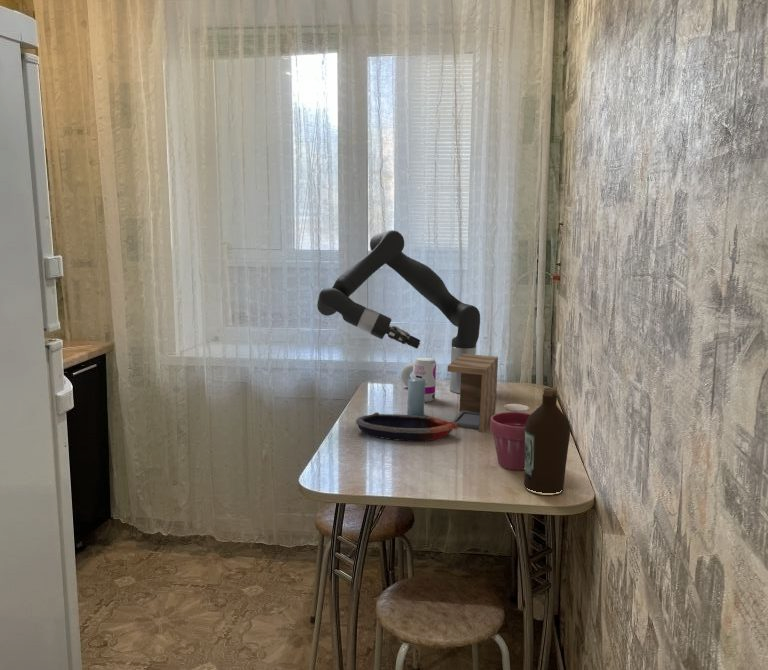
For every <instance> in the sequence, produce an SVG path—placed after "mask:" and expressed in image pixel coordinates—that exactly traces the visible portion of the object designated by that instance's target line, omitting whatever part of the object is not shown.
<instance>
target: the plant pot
mask: <svg viewBox="0 0 768 670" xmlns="http://www.w3.org/2000/svg"><path fill="white" fill-rule="evenodd" d="M531 414H532V413H527V412H512V411H505V412H497V413H495V415H493V416H492V417H491V420H490V423H489V425H490V426H489V428H490V429H489V430H490V433H491V434H492V435H493V438H494V439H493V440H494V441H493V442H494V446H495V447H494V448H495V452H496V457H497V462H498V465H499V466H500V467H501V466H502V467H501V468H504V467H505V468H504V469H506V468H509V469H508V470H511V469H524V468H525V425H526V422H527V419H528V417H529V416H530V415H531Z"/></svg>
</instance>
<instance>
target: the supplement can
mask: <svg viewBox="0 0 768 670" xmlns="http://www.w3.org/2000/svg"><path fill="white" fill-rule="evenodd" d="M412 363H413V372H412V378H422V379H425V403H428V401H430V402H432V401H434V400H435V399H436V382H437V381H436V379H437V377H436V376H437V375H436V374H437V361H436V359H435V358H434V357H431V356H430V357H429V356H417V357H415V358H414V361H413V362H412Z"/></svg>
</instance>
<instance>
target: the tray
mask: <svg viewBox="0 0 768 670" xmlns="http://www.w3.org/2000/svg"><path fill="white" fill-rule="evenodd" d="M451 422H454V423H457V425H458V426H457V428H458V427H459V428H467V429H474V430H479V424H480V413H476V412H468V411H459V413H458V415H457V416H456V417H455V418H454V419H453V420H452V421H451Z"/></svg>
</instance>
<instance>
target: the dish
mask: <svg viewBox="0 0 768 670" xmlns="http://www.w3.org/2000/svg"><path fill="white" fill-rule="evenodd" d="M355 422H356V425H357V426H358V429H359V430H360V431H361V432H362V433H364V434H365V435H370V436H372V435H373V436H374V437H376V436H377V438H380V437H383V438H382V439H386V438H389V439H388V440H394V439H399V440H398V441H408V440H413V441H414V442H415V441H417V442H418V441H419V442H422V441H423V442H425V440H427V441H432V440H433V441H434V440H438V439H442V438H443V439H444V438H445V437H447V436H448V435H449V434H450V433H451V432H452V431H453V430H457V429H458V427H457V426H458V425H457V423H454V422H452V421H449V420H448V419H447V420H445V419H443V418H442V419H441V418H437V417H431V416H425V415H424V416H415V415H407V414H398V413H397V414H395V413H393V414H389V413H387V414H386V413H379V412H377V411H376V412H374V413H372V414H367V415H361V416H359V417H357V418H356V419H355ZM413 441H412V442H413Z"/></svg>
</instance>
